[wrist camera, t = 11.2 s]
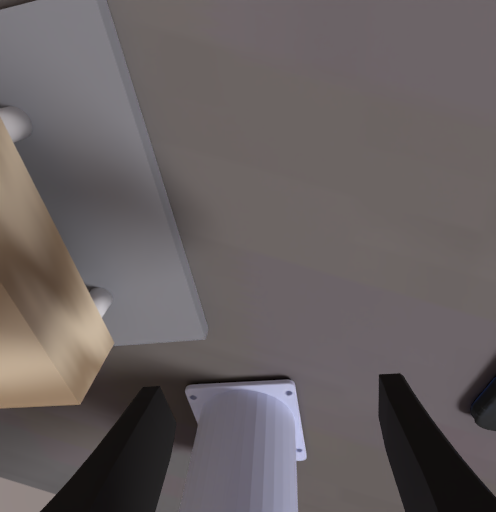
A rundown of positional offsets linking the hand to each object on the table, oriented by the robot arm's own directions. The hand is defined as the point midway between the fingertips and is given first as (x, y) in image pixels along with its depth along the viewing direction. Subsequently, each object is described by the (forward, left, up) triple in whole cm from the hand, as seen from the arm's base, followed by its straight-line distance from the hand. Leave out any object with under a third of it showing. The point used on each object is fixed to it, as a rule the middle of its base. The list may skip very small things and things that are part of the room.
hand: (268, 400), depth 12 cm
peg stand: (+4, +12, -9) cm, 16 cm away
